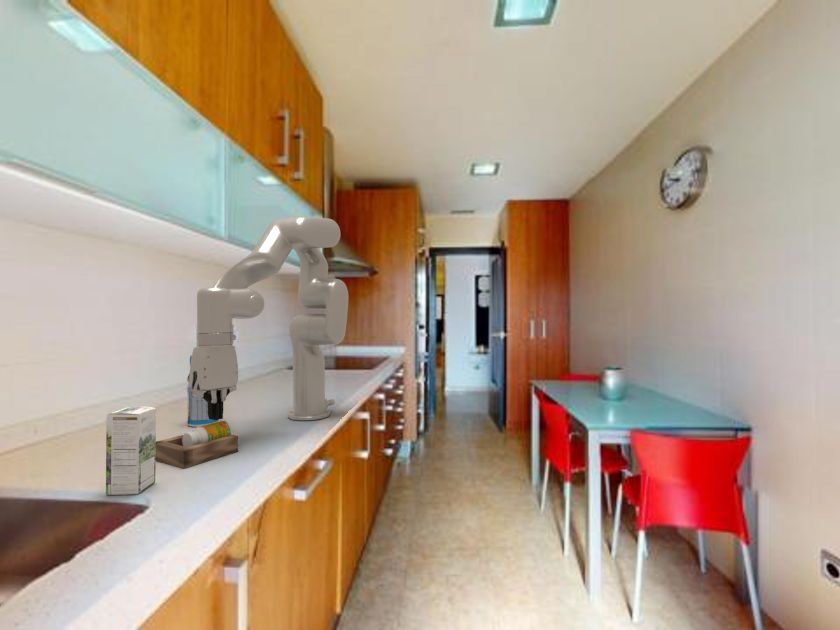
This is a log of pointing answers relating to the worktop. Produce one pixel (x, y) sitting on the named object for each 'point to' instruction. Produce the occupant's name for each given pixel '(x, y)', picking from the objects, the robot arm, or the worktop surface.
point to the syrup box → (130, 450)
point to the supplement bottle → (207, 433)
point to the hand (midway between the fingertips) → (215, 418)
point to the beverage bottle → (197, 409)
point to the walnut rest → (194, 451)
